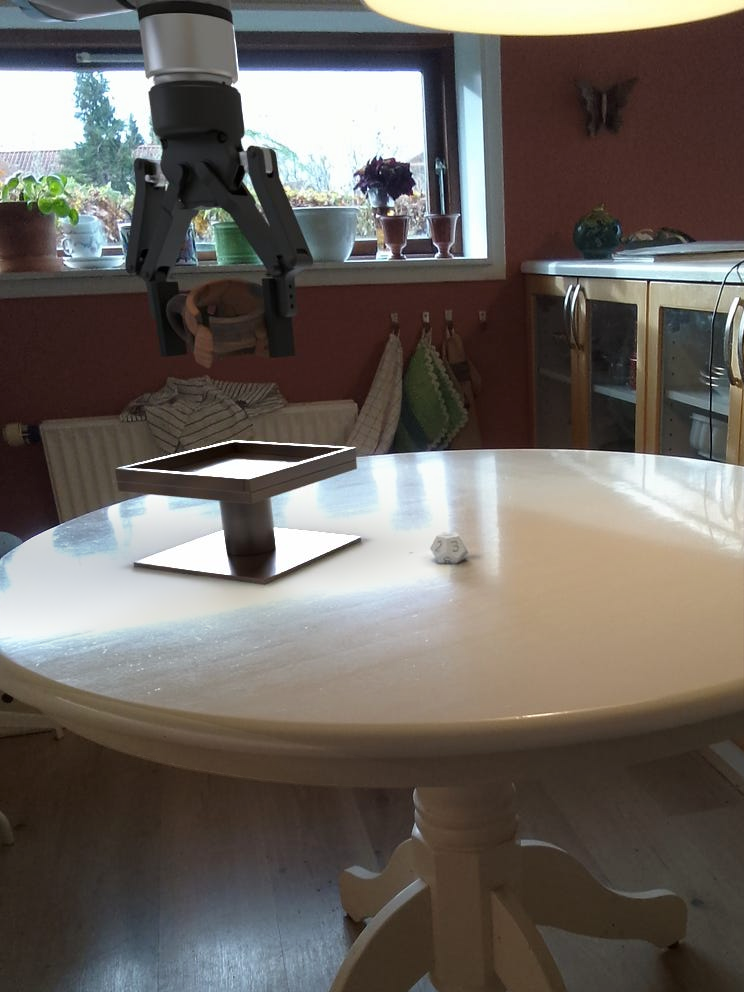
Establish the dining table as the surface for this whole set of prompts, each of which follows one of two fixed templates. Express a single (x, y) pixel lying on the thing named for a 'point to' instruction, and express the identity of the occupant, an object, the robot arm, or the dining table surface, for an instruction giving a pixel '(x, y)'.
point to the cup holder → (242, 506)
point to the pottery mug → (221, 320)
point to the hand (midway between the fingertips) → (226, 356)
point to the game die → (448, 548)
